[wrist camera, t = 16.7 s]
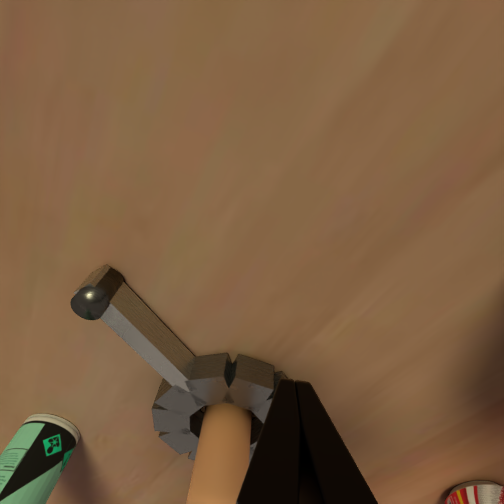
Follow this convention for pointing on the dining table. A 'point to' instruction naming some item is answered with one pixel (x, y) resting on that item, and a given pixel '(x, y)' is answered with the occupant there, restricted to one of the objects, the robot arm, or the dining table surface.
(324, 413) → the robot arm
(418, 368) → the dining table surface
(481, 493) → the soda can
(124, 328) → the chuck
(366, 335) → the dining table surface
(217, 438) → the rod
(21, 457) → the spray can
